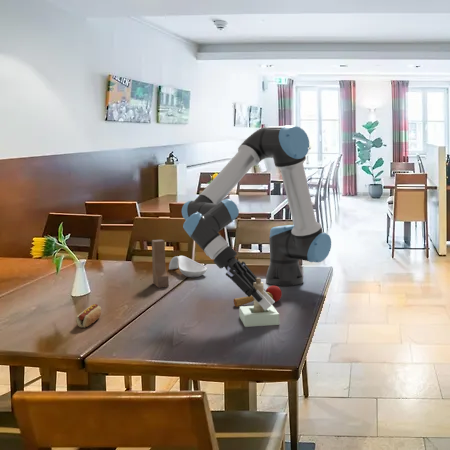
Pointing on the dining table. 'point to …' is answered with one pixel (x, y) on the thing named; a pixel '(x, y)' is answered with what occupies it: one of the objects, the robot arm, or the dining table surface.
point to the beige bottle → (259, 286)
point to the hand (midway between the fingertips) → (270, 306)
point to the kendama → (271, 291)
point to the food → (88, 316)
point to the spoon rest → (187, 266)
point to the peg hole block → (258, 316)
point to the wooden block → (159, 264)
